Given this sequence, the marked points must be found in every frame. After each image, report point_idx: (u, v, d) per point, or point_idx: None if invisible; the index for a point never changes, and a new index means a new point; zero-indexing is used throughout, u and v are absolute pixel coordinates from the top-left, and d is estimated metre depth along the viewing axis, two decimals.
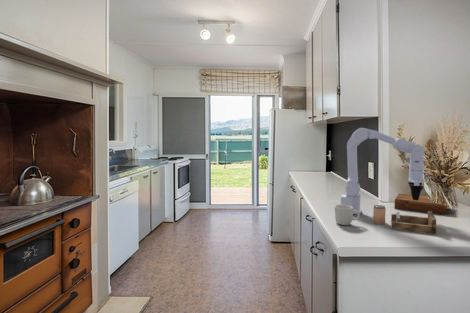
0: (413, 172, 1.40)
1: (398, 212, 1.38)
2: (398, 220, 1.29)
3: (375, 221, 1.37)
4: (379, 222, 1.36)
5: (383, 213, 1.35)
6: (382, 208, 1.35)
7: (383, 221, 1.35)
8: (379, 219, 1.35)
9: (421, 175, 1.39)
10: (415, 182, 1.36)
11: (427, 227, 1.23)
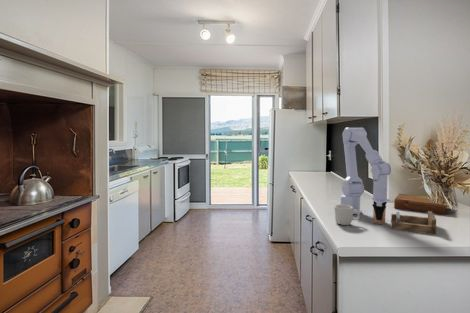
0: (376, 191, 1.35)
1: (398, 212, 1.38)
2: (398, 220, 1.29)
3: (375, 221, 1.37)
4: (379, 221, 1.35)
5: (383, 213, 1.35)
6: None
7: (383, 221, 1.35)
8: None
9: (385, 195, 1.34)
10: (377, 202, 1.31)
11: (427, 227, 1.23)
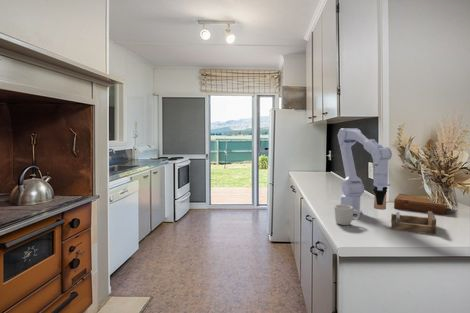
0: (377, 176, 1.34)
1: (398, 212, 1.38)
2: (398, 220, 1.29)
3: (376, 206, 1.36)
4: (380, 207, 1.35)
5: (384, 198, 1.35)
6: None
7: (384, 206, 1.35)
8: None
9: (385, 179, 1.34)
10: (378, 187, 1.30)
11: (427, 227, 1.23)
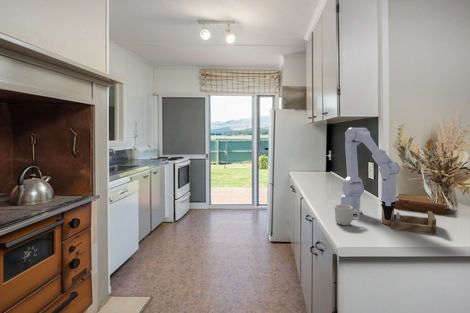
0: (385, 191, 1.33)
1: (398, 212, 1.38)
2: (398, 220, 1.29)
3: (384, 221, 1.35)
4: (387, 222, 1.34)
5: (392, 213, 1.33)
6: None
7: None
8: None
9: (393, 194, 1.33)
10: (386, 202, 1.29)
11: (427, 227, 1.23)
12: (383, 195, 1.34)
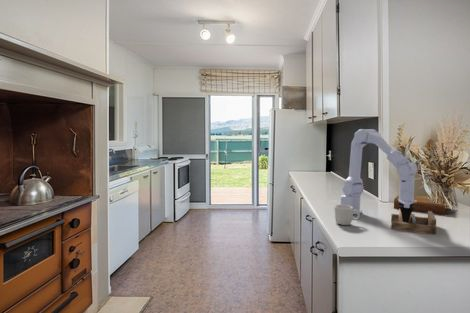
0: (403, 192, 1.30)
1: (413, 214, 1.36)
2: (414, 222, 1.26)
3: None
4: None
5: (410, 215, 1.30)
6: None
7: None
8: None
9: (412, 196, 1.29)
10: (405, 204, 1.26)
11: (427, 227, 1.23)
12: (401, 197, 1.31)
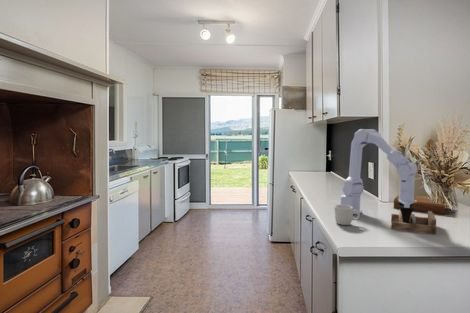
0: (403, 192, 1.30)
1: (413, 214, 1.36)
2: (414, 222, 1.26)
3: None
4: None
5: (410, 216, 1.30)
6: None
7: None
8: None
9: (412, 196, 1.29)
10: (405, 204, 1.26)
11: (427, 227, 1.23)
12: (401, 197, 1.31)
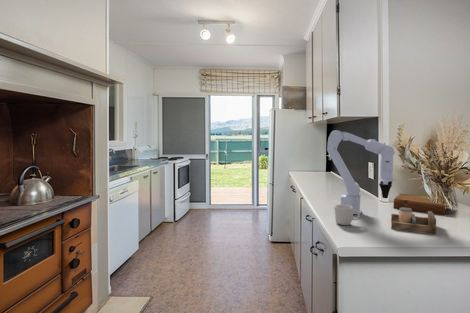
0: (383, 171, 1.47)
1: (413, 214, 1.36)
2: (414, 222, 1.26)
3: None
4: None
5: (410, 216, 1.30)
6: (409, 211, 1.30)
7: None
8: (406, 222, 1.30)
9: (390, 174, 1.47)
10: (384, 181, 1.43)
11: (427, 227, 1.23)
12: (381, 175, 1.49)
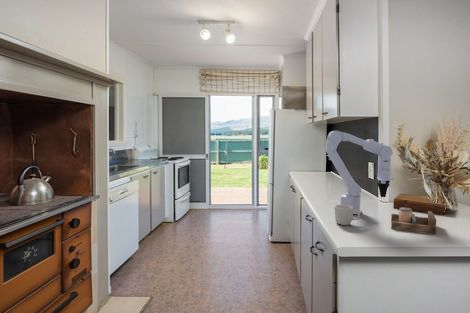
0: (381, 171, 1.50)
1: (413, 214, 1.36)
2: (414, 222, 1.26)
3: None
4: None
5: (410, 216, 1.30)
6: (409, 211, 1.30)
7: None
8: (406, 222, 1.30)
9: (388, 174, 1.49)
10: (382, 180, 1.46)
11: (427, 227, 1.23)
12: (379, 175, 1.51)
